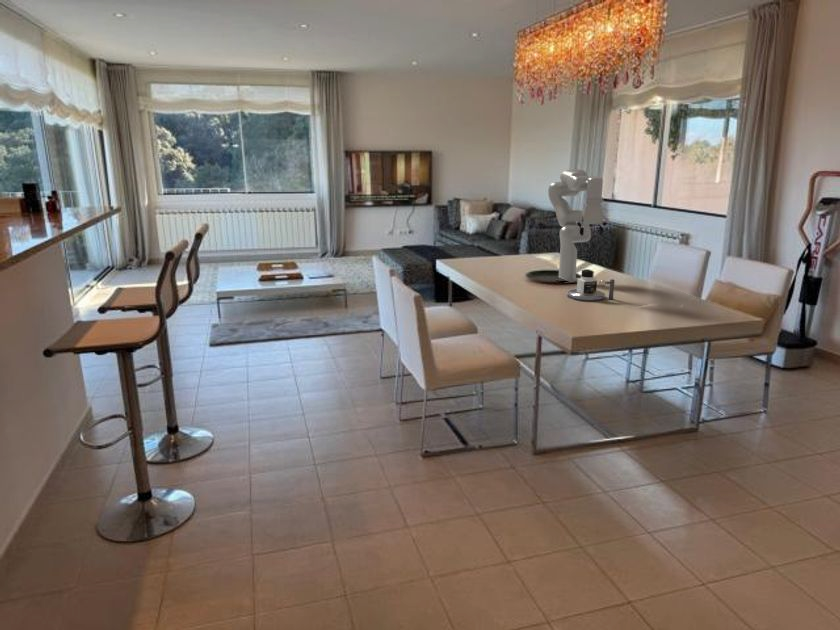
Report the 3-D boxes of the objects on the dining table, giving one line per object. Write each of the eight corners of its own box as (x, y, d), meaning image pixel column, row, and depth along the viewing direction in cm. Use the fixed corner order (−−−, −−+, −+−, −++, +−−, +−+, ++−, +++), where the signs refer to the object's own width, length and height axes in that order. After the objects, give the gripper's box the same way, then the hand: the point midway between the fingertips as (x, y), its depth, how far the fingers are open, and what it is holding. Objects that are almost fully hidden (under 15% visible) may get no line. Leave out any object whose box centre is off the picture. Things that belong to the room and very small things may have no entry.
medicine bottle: (583, 295, 289) (585, 271, 285) (576, 291, 295) (578, 268, 292) (596, 294, 290) (598, 270, 287) (588, 290, 297) (590, 268, 293)
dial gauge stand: (596, 300, 291) (598, 278, 287) (613, 300, 291) (615, 278, 287) (598, 302, 287) (600, 280, 284) (615, 302, 287) (617, 280, 284)
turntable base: (562, 294, 302) (562, 292, 302) (598, 293, 303) (598, 292, 302) (572, 303, 284) (572, 301, 284) (610, 303, 284) (610, 301, 284)
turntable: (594, 303, 281) (595, 291, 279) (561, 297, 292) (562, 285, 291) (610, 296, 294) (611, 284, 292) (578, 290, 305) (579, 279, 304)
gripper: (607, 201, 299) (605, 233, 304) (574, 201, 299) (572, 234, 304) (612, 202, 292) (609, 236, 297) (578, 202, 292) (576, 236, 297)
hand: (590, 235), depth 300 cm, fingers open, 9 cm apart
